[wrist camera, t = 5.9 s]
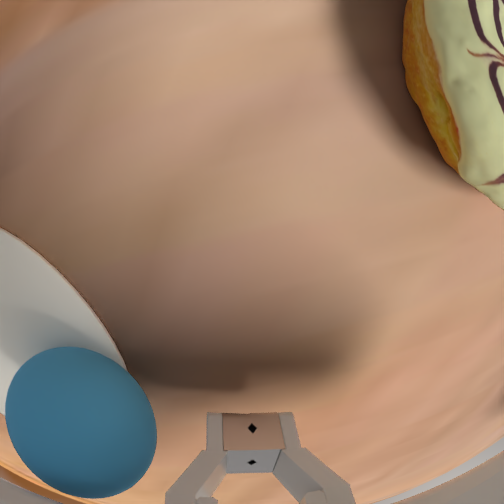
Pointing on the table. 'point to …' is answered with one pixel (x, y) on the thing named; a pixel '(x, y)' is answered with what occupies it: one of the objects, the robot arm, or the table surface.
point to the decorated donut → (460, 84)
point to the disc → (41, 312)
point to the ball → (80, 422)
